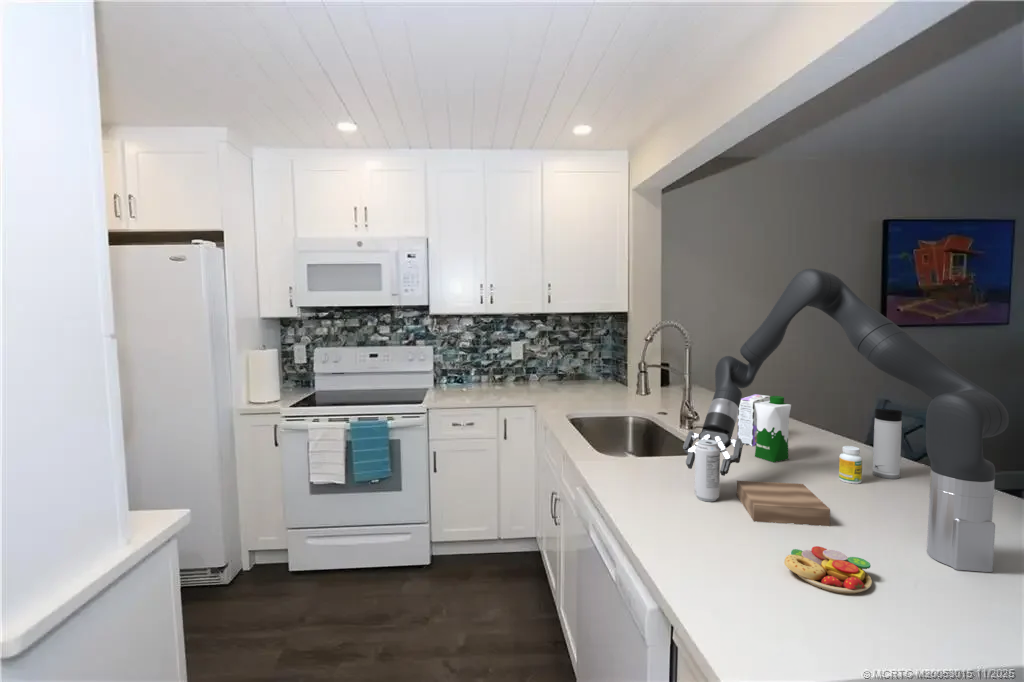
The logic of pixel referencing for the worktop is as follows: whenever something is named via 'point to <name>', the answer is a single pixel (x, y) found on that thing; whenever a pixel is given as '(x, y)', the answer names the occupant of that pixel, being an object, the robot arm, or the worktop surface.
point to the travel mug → (887, 443)
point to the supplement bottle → (850, 465)
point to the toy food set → (830, 570)
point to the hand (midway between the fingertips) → (705, 470)
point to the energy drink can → (707, 470)
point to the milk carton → (772, 429)
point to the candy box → (749, 418)
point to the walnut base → (782, 503)
